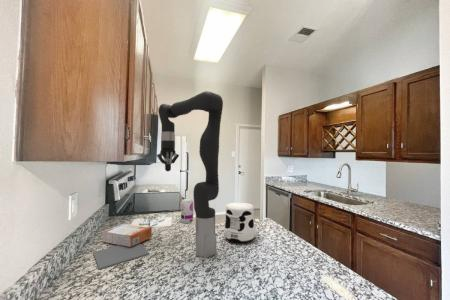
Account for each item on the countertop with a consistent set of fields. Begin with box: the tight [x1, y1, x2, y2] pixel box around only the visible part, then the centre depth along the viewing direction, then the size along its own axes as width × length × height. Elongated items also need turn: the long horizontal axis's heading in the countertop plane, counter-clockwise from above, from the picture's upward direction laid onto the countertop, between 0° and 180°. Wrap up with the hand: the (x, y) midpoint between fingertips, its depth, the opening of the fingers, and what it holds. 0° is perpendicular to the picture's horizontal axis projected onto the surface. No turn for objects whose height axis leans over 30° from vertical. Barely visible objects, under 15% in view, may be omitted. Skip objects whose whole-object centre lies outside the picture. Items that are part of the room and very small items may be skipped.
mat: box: [92, 243, 150, 271], centre depth 95 cm, size 18×20×1 cm
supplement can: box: [180, 198, 194, 224], centre depth 141 cm, size 8×8×15 cm
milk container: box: [223, 201, 257, 243], centre depth 113 cm, size 17×17×18 cm
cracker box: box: [102, 223, 153, 247], centre depth 110 cm, size 14×6×21 cm
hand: (168, 171), depth 114 cm, fingers closed
